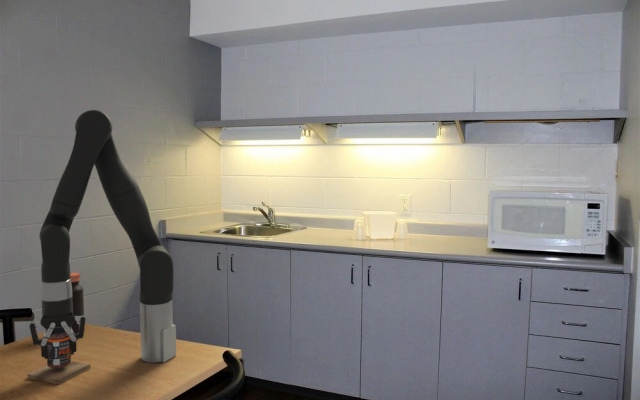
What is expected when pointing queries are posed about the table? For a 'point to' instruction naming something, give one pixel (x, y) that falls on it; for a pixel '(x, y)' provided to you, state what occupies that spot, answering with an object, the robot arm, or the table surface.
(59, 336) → the supplement bottle
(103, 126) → the robot arm
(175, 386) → the table surface
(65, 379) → the tan board
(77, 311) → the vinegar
